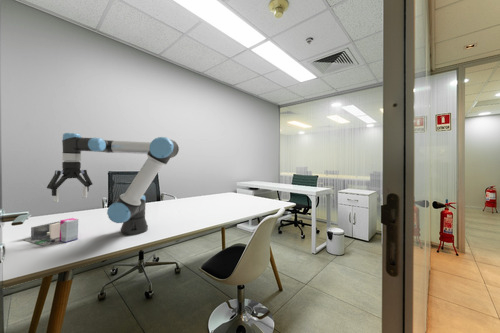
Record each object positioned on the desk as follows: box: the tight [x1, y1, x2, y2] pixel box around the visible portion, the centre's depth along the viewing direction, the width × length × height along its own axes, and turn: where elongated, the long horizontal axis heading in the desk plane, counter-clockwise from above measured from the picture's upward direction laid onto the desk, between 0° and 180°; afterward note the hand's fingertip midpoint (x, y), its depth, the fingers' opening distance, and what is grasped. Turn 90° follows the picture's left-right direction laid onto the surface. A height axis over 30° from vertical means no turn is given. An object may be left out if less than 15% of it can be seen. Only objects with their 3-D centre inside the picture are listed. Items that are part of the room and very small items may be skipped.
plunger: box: [37, 223, 60, 240], centre depth 109 cm, size 8×13×8 cm, turn 161°
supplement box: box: [59, 217, 80, 244], centre depth 108 cm, size 6×6×12 cm
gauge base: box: [23, 220, 60, 247], centre depth 110 cm, size 18×16×6 cm
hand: (71, 199), depth 109 cm, fingers open, 13 cm apart
